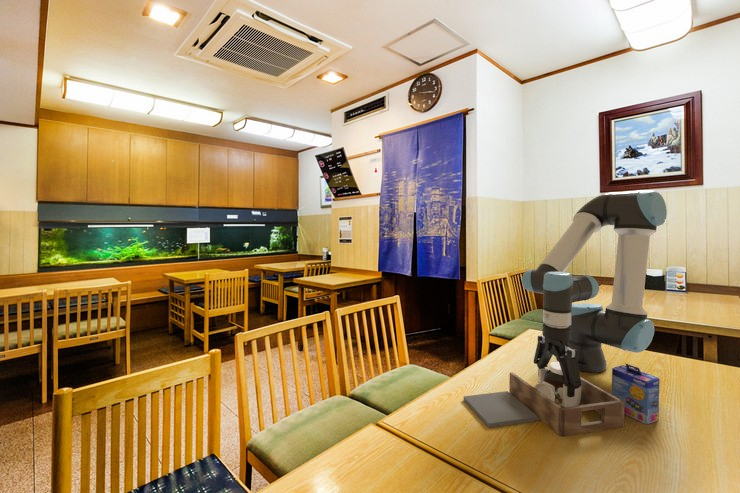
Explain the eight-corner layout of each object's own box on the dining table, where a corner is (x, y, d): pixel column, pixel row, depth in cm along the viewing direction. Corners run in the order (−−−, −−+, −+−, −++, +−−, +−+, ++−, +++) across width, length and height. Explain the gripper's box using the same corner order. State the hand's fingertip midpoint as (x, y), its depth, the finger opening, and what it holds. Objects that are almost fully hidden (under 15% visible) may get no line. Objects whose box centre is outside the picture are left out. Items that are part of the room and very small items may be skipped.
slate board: (463, 400, 110) (463, 396, 110) (507, 394, 112) (507, 391, 112) (488, 427, 95) (488, 423, 95) (538, 420, 98) (538, 416, 98)
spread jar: (583, 404, 106) (584, 366, 105) (573, 420, 98) (574, 379, 97) (540, 391, 114) (541, 356, 113) (528, 405, 106) (529, 367, 105)
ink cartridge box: (609, 407, 104) (611, 359, 103) (621, 403, 106) (623, 356, 105) (646, 425, 95) (648, 373, 94) (659, 420, 97) (661, 369, 96)
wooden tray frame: (509, 393, 113) (509, 372, 113) (561, 387, 117) (562, 366, 116) (560, 436, 91) (561, 410, 90) (623, 426, 94) (624, 401, 94)
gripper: (522, 315, 115) (521, 381, 116) (574, 337, 93) (572, 419, 94) (542, 313, 116) (541, 379, 118) (598, 335, 94) (596, 415, 96)
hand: (555, 397), depth 106 cm, fingers closed on spread jar, 10 cm apart
